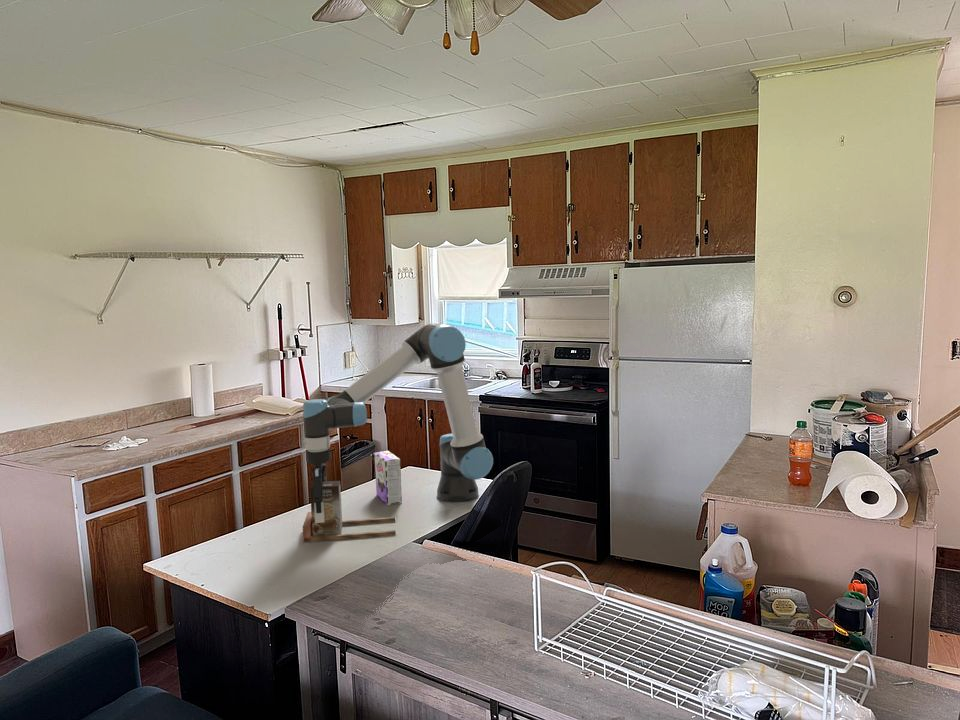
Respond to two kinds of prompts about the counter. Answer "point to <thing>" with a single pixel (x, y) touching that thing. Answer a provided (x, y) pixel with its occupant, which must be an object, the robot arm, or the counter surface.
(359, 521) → the channel
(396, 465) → the candy box
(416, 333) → the robot arm
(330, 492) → the coffee box
